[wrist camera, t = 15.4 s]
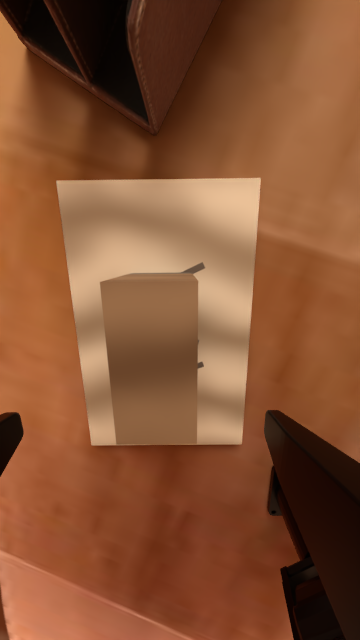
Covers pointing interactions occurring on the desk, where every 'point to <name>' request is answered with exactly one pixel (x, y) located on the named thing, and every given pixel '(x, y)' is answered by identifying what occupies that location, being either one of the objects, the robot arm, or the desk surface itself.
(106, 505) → the desk surface
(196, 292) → the block
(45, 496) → the desk surface
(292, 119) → the desk surface
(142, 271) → the birch board
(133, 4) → the letter holder
